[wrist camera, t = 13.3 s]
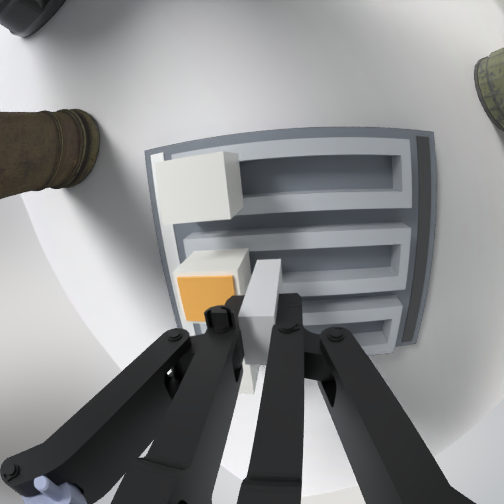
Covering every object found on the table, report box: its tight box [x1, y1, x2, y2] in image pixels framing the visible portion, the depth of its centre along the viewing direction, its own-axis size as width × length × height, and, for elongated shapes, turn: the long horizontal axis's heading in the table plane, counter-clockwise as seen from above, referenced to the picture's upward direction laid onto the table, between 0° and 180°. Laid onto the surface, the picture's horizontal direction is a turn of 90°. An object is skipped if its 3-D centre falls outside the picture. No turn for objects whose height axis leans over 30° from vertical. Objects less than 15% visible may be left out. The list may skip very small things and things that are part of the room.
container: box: [0, 109, 99, 199], centre depth 15 cm, size 9×9×18 cm
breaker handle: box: [173, 248, 251, 324], centre depth 19 cm, size 4×4×7 cm
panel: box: [145, 127, 436, 394], centre depth 19 cm, size 20×24×9 cm
